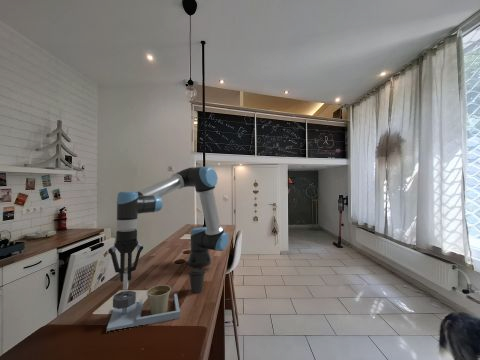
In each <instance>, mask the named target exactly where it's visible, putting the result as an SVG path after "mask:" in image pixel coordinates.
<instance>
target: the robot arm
mask: <svg viewBox="0 0 480 360" xmlns="http://www.w3.org/2000/svg"><path fill="white" fill-rule="evenodd" d="M217 184H218V175H217V172H216V170H215V169H214V168H213V167H211V166H196V167H193V166H192V167H187V168H185V169H182V170H180V171H177V172H175V173H173V174H172V175H171V176H170V177H169V178H166V179H163V180H161V181H158V182H157V183H154V184H152V185H150V186H147V187H145V188H143V189H141V190H138V191H119V192H118V193H117V197H116V223H115V225H116V227H115V229H116V233H115V234H116V235H115V243H114V245H113V246H111V247H109V248H108V249H107V252H108V253H109V254H110V257H111V260H112V264H113V265H112V266H113V269H114V272H115V273H116V274H118V273H119V276H120V279H119V281H120V282H121V283H122V292H123V291H128V288H129V281H131V279H132V273H133V272H134V271H136V269H137V267H138V262H139V259H140V255H141V252H142V251H143V249H144V245H143V244H140V243H139V242H138V241H139V240H138V230H137V228H138V215H139V214H149V213H153V214H154V213H157V212H159V211H161V210H162V209H163V207H164V206H163V199H162V197H163V196H165V195H167V194H170V193H171V192H173V191H176V190H177V189H178V190H181V189H183V188H187V187H189V188H190V187H193V188H194V189H195V192H196V193H198V194H199V199H200V203H201V208H202V213H203V217H204V222H205V226H204V227H197V228H196V227H195V228H193V229H191V230H190V253H189V256H188V259H187V265H188V266H190V267H194V268H200V267H206V266H209V265H211V263H212V259H211V255H210V252H209V250H211V251H212V250H213V251H216V252H222V251H223V252H224V250H226V248H227V247H228V244H229V242H230V235H229V233H228V232H225V230H224V227H223V226H222V225H221V223H220V218H219V213H218V212H219V211H218V208H217V204H216V197H215V193H214V190H215V188H216V185H217ZM135 249H137V251H136V256H135V258H134V262H132V261H133V251H134V250H135ZM116 250H117V251H118V253H120V262H119V261H118V258H117V257H118V256H117V252H116ZM126 254H127V270H125V264H126V262H125V261H126ZM119 263H120V266H119ZM132 264H133V265H132Z"/></svg>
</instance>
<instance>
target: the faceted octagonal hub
mask: <svg viewBox="0 0 480 360" xmlns="http://www.w3.org/2000/svg"><path fill="white" fill-rule="evenodd" d="M123 296H127V297H123ZM112 298H113V299H112V307H113V309H114V308H117V309H122V308H128V307H130V306H131V305H133V304H135V302H137V301H136V300H137V299H136V298H137V292H136V291H134V290H124V291H123V290H122V291H120V292H118V293H115V294H114V295H113V297H112Z"/></svg>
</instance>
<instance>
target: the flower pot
mask: <svg viewBox="0 0 480 360" xmlns="http://www.w3.org/2000/svg"><path fill="white" fill-rule="evenodd" d="M171 291H172V287H170V286H169V285H168V284H167V285H166V284H159V285H158V284H157V285H154V286H151V287H150V288H148V289H147V290H146V295H147V298H148V303H149V304H148V305H149V310H150V314H151V315H155V314H161V313H166V312H168V303H169V295H170V292H171Z"/></svg>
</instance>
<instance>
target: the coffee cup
mask: <svg viewBox="0 0 480 360" xmlns="http://www.w3.org/2000/svg"><path fill="white" fill-rule="evenodd" d="M205 274H206V271H205V269H203V268H194V269H191V270H189V271H188V275H189V281H190V292H191V293H192V294H200V293H202V292H203V288H204V279H205Z"/></svg>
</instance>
